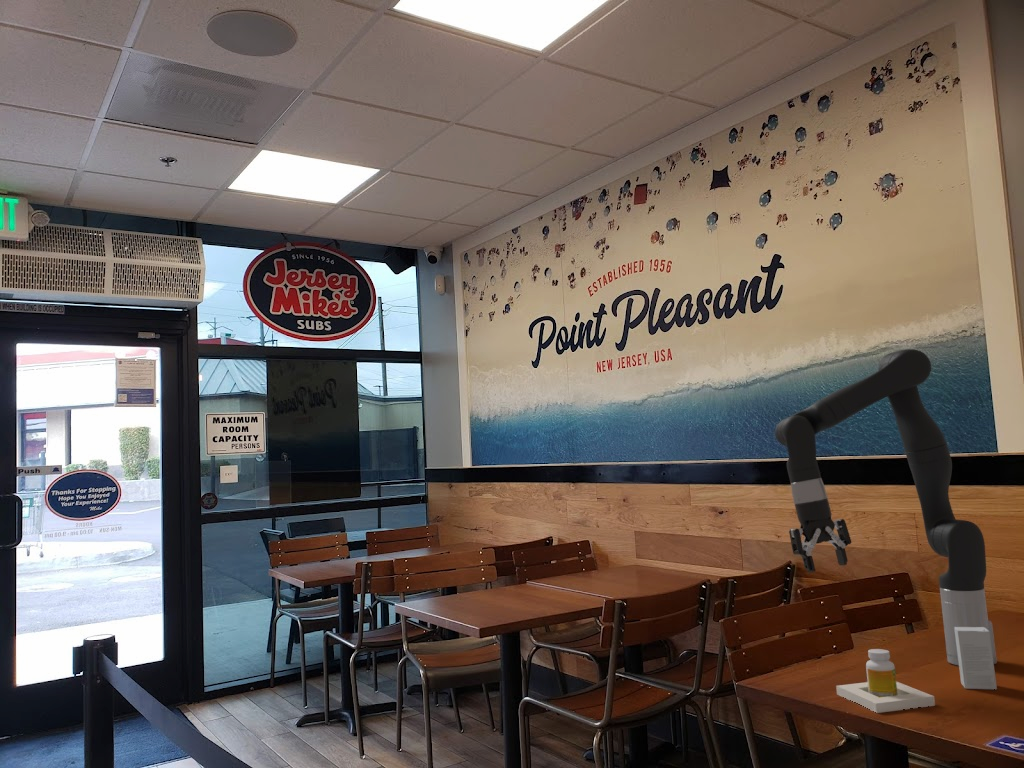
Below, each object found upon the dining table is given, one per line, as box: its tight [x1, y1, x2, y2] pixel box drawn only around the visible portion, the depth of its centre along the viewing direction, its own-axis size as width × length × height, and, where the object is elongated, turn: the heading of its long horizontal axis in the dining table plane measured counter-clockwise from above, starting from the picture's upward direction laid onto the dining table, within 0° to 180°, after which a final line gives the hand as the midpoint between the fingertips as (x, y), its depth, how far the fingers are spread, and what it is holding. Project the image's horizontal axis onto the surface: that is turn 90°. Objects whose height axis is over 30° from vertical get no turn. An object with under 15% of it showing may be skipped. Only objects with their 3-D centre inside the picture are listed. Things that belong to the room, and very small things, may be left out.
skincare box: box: [954, 627, 998, 691], centre depth 165 cm, size 6×4×12 cm
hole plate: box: [835, 681, 936, 714], centre depth 159 cm, size 13×13×2 cm
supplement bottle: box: [865, 648, 898, 698], centre depth 160 cm, size 5×5×10 cm
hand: (827, 568), depth 181 cm, fingers open, 8 cm apart
